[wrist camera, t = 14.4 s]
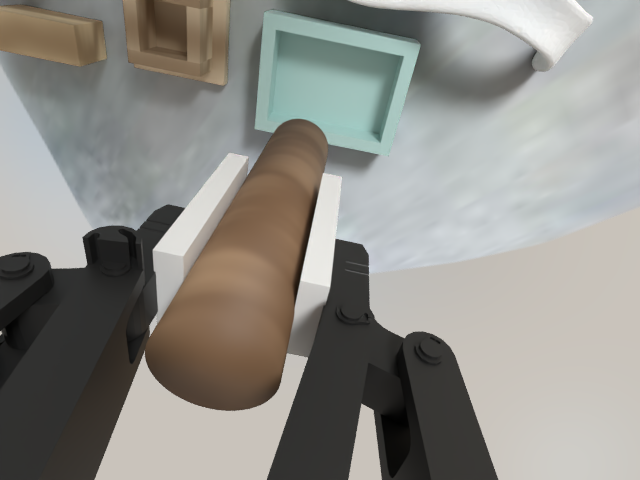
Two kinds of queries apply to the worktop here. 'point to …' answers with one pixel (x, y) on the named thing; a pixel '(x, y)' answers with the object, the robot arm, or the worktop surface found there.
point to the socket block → (179, 37)
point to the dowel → (245, 282)
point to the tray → (334, 79)
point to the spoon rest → (513, 20)
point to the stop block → (51, 35)
